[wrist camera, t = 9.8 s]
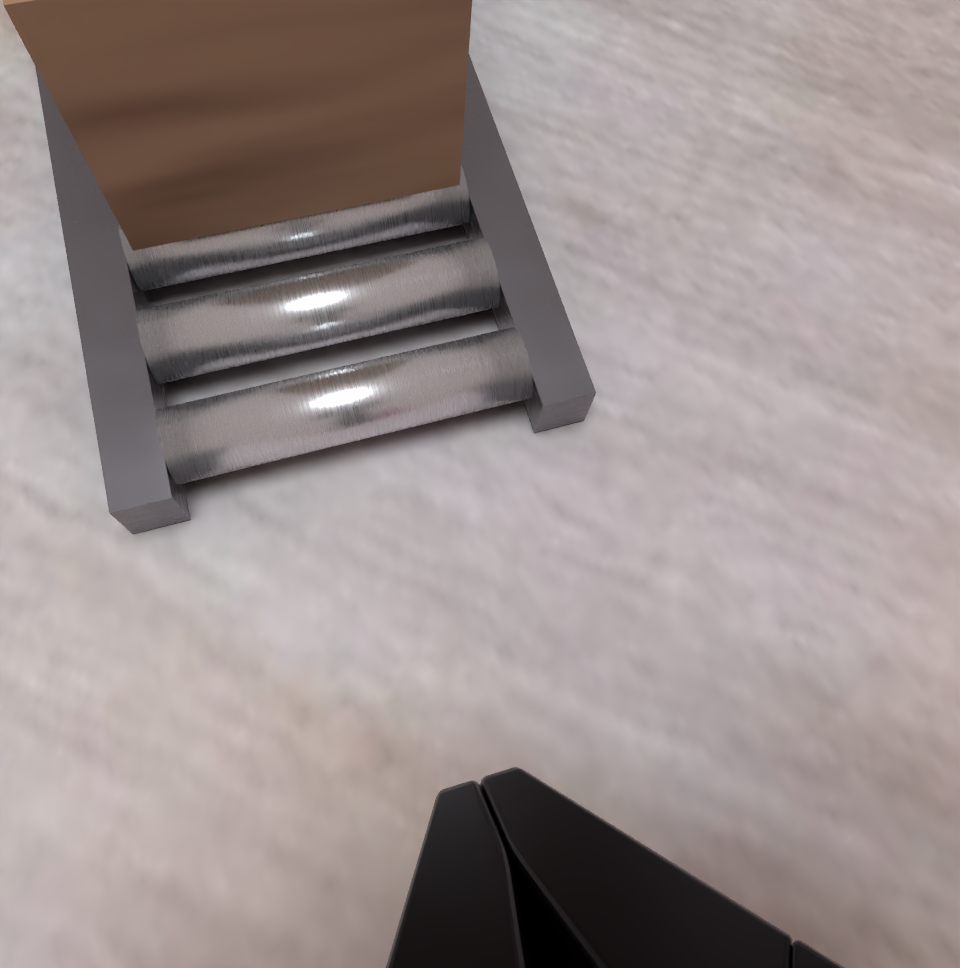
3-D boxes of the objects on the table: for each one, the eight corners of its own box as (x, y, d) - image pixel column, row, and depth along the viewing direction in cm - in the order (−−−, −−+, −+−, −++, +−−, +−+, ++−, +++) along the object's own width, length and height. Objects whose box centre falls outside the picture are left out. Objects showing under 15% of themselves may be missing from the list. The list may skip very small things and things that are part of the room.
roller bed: (583, 420, 25) (633, 309, 19) (132, 534, 23) (37, 447, 17) (417, -36, 30) (416, -226, 25) (44, 23, 28) (-50, -170, 23)
